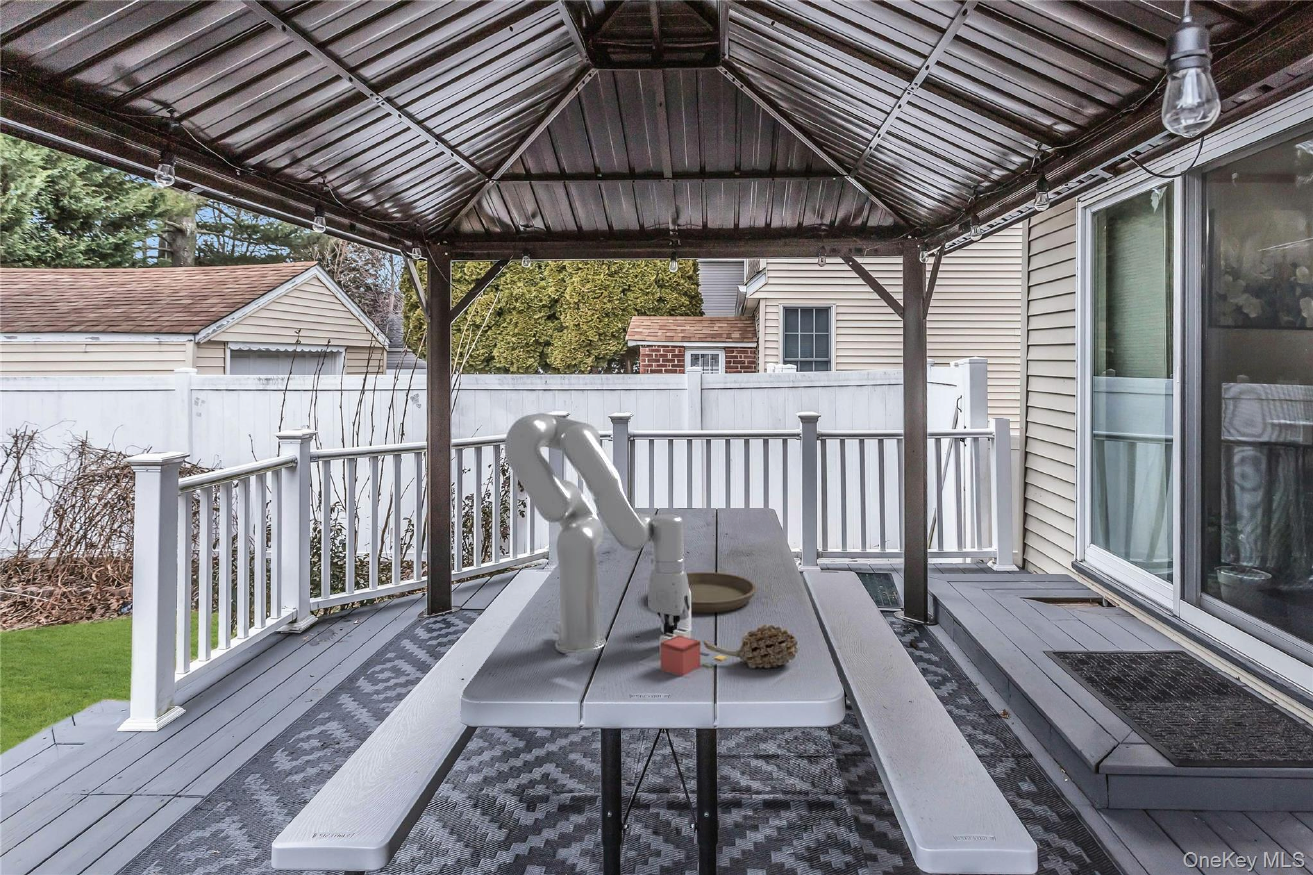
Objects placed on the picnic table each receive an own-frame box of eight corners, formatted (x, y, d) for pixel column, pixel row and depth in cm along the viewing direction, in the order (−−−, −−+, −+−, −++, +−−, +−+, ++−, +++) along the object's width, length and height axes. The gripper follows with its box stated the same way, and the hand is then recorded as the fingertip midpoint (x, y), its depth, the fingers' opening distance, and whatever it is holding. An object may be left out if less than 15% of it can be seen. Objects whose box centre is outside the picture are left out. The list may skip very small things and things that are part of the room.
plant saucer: (747, 619, 209) (747, 603, 209) (639, 612, 218) (639, 596, 218) (763, 589, 239) (763, 574, 239) (668, 583, 248) (668, 569, 247)
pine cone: (796, 660, 178) (795, 619, 177) (800, 677, 168) (800, 633, 168) (701, 659, 180) (701, 618, 179) (700, 675, 170) (700, 632, 169)
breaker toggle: (673, 647, 184) (673, 629, 184) (681, 644, 187) (680, 626, 186) (683, 650, 182) (683, 632, 182) (691, 646, 185) (690, 629, 184)
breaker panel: (637, 666, 176) (636, 642, 176) (684, 644, 190) (684, 622, 189) (689, 682, 166) (688, 657, 166) (734, 658, 180) (734, 634, 180)
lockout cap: (660, 669, 172) (660, 643, 171) (678, 660, 177) (677, 635, 176) (683, 675, 168) (682, 649, 167) (700, 666, 173) (700, 641, 172)
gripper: (635, 564, 187) (637, 637, 189) (683, 573, 178) (685, 650, 179) (654, 558, 193) (656, 629, 195) (702, 566, 184) (704, 640, 185)
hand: (670, 639), depth 187 cm, fingers closed
